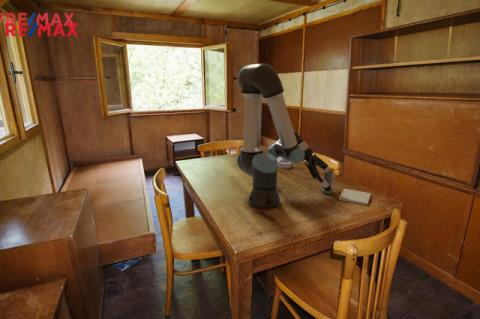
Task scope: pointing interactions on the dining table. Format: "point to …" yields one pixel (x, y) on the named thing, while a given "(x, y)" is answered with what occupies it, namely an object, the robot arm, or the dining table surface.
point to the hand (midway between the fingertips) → (330, 182)
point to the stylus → (328, 178)
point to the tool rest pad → (355, 196)
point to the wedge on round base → (283, 163)
